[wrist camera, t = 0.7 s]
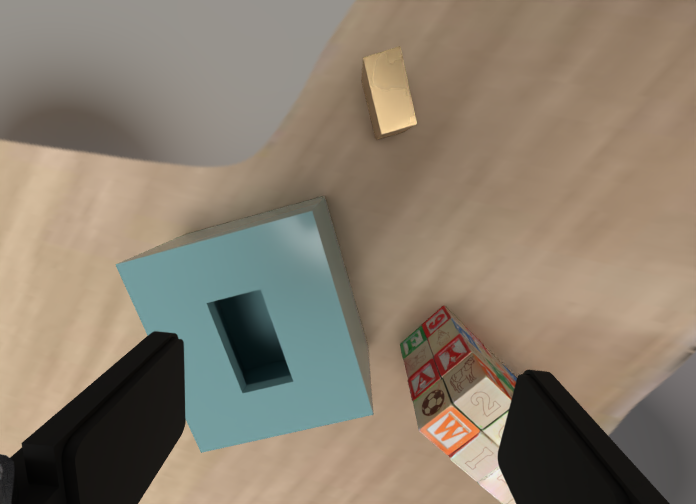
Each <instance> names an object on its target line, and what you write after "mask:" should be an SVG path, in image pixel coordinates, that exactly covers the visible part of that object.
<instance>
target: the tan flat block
mask: <svg viewBox="0 0 696 504" xmlns="http://www.w3.org/2000/svg"><path fill="white" fill-rule="evenodd" d="M361 81H362V85H363V89H364V93H365V98H366V102H367V106H368V110H369V114H370V118H371V122H372V126H373V130H374V134H375V139H376V140H378V139H381V138H385V137H388V136H392V135H395V134H399V133H402V132H405V131H406V130H408V129H410V128H411V127H413V126H415V125H416V124H417V122H416V117H415V113H414V108H413V103H412V99H411V94H410V89H409V85H408V80H407V75H406V71H405V66H404V61H403V57H402V52H401V47H400V46H399V47H396V48H393V49H389V50H386V51H383V52H380V53H376V54H373V55H370V56H367V57H364V58H363V68H362V80H361Z"/></svg>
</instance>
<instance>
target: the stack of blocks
mask: <svg viewBox="0 0 696 504" xmlns="http://www.w3.org/2000/svg"><path fill="white" fill-rule="evenodd" d="M400 347H401V352H402V357H403V360H404V362H405V367H406V373H407V376H408V385H409V388H410V394H411V398H412V401H413V404H414V409H415V414H416V419H417V424H418V429H419V431H420V432H421V433H422V434H423V435H424V436H426V437H427V438H428V439H429V440H430V441H431V442H433V443H434V444H435V445H436V446H437V447H438V448H439V449H441V450H442V451H443V452H444V453H445V454H446V455H449V458H450V460H451V461H452V462H454V463H455V464H456V465H457V466H458V467H460V468H461V469H462V470H463V471H464V472H465V473H467V474H468V475H469V476H470V477H472V478H473V479H474V480H475V481H477V482H478V484H479V485H480V486H481V487H483V488H484V489H485V490H486V491H487V492H489V493H490V494H491V495H492V496H493V497H495V498H496V499H497V500H498V501H499V502H501V503H502V504H516V503H515V500H514V498H513V496H512V494H511V492H510V490H509V487H508V485H507V483H506V481H505V479H504V477H503V474H502V472H501V470H500V468H499V465H498V450H499V446H500V442H501V438H502V434H503V430H504V427H505V423H506V419H507V415H508V411H509V407H510V403H511V400H512V396H513V392H514V388H515V384H516V380H517V378H516V377H515V376H514V375H513V374H512V373H511V372H510V371H509V370H508V369H507V368H506V367H505V366H504V365H503V364H501V363H500V361H499V360H498V359H496V358H495V357H494V356H493V355H492V354H491V353H490V352H489V351H488V350H487V349H486V348H485V347H484V346H483V344H482V343H481V342H480V341H479V340H478V339H477V338H476V337H475V336H474V335H473V334H472V333H471V332H470V331H469V330H468V329H467V328H466V327H465V326H464V325H463V323H462V322H461V321H460V320H459V319H458V318H457V317H456V316H455V315H454V314H453V313H452V312H451V311H450V310H449V309H448V308H447V307H446V306H442V307H441V308H440V309H439V310H438V311H437V312H436V313H434V314H433V315H432V316H431V317H430V318H429V319H428V320H427V321H425V322H424V323H423V324H422V326H420V327H419V328H418V329H417V330H416V331H415V332H413V333H412V334H411V335H410V336H409V337H408V338H407V339H405V340H404V341H403V342H402V343H401V344H400Z"/></svg>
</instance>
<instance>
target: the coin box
mask: <svg viewBox="0 0 696 504" xmlns="http://www.w3.org/2000/svg"><path fill="white" fill-rule="evenodd" d="M116 267H117V269H118V271H119V274H120V276H121V278H122V280H123V282H124V284H125V287H126V289H127V291H128V293H129V295H130V298H131V300H132V302H133V304H134V306H135V309H136V311H137V313H138V315H139V317H140V320H141V322H142V324H143V326H144V328H145V331H146V333H147V335H149V334H151V333H152V332H154V331H159V332H169V333H176V334H177V335H178V338H179V339H182V340H183V342H184V367H185V418H186V421H187V423H188V425H189V427H190V429H191V432H192V434H193V436H194V438H195V440H196V443H197V445H198V447H199V449H200V451H201V453H202V452H206V451H211V450H215V449H220V448H224V447H229V446H233V445H238V444H242V443H247V442H252V441H256V440H261V439H265V438H270V437H274V436H279V435H283V434H288V433H292V432H297V431H301V430H306V429H311V428H315V427H320V426H324V425H329V424H333V423H338V422H342V421H347V420H351V419H356V418H360V417H365V416H369V415H373V403H372V390H371V376H370V363H369V349H368V344H367V341H366V337H365V334H364V330H363V327H362V323H361V320H360V316H359V313H358V309H357V306H356V302H355V299H354V296H353V292H352V289H351V285H350V282H349V278H348V275H347V271H346V268H345V264H344V261H343V257H342V254H341V250H340V247H339V244H338V240H337V237H336V233H335V230H334V226H333V223H332V219H331V216H330V212H329V209H328V205H327V202H326V199H325V196H322V197H319V198H315V199H311V200H308V201H304V202H300V203H297V204H293V205H290V206H286V207H282V208H279V209H275V210H272V211H268V212H264V213H261V214H257V215H254V216H250V217H246V218H243V219H239V220H235V221H232V222H228V223H225V224H221V225H217V226H214V227H210V228H207V229H203V230H199V231H196V232H192V233H189V234H185V235H182V236H180V237H178V238H175V239H173V240H171V241H169V242H166V243H164V244H162V245H159V246H157V247H155V248H152V249H150V250H148V251H146V252H143V253H141V254H139V255H136V256H134V257H132V258H130V259H127V260H125V261H123V262H120V263H118V264H116Z"/></svg>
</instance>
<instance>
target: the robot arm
mask: <svg viewBox="0 0 696 504" xmlns="http://www.w3.org/2000/svg"><path fill="white" fill-rule="evenodd" d="M185 420H186V418H185V367H184V342H183V340H182V339H179V338H178V335H177V334H176V333H169V332H159V331H154V332H152V333H151V334H149V335H148V336H147V337H146V338H145V339H143V340H142V341H141V342H140V343H139V344H138V345H136V346H135V347H134V348H133V349H132V350H131V351H129V352H128V353H127V354H126V355H125V356H124V357H122V358H121V359H120V360H119V361H118V362H116V363H115V364H114V365H113V366H112V367H111V368H109V369H108V370H107V371H106V372H105V373H104V374H102V375H101V376H100V377H99V378H98V379H96V380H95V381H94V382H93V383H92V384H91V385H89V386H88V387H87V388H86V389H85V390H84V391H82V392H81V393H80V394H79V395H78V396H77V397H75V398H74V399H73V400H72V401H71V402H69V403H68V404H67V405H66V406H65V407H64V408H62V409H61V410H60V411H59V412H58V413H57V414H55V415H54V416H53V417H52V418H51V419H49V420H48V421H47V422H46V423H45V424H44V425H42V426H41V427H40V428H39V429H38V430H37V431H35V432H34V433H33V434H32V435H31V436H30V437H28V438H27V439H26V440H25V441H24V442H22V448H21V449H20V450H19V451H17V452H16V453H15V454H14V455H13V456H12V457H10V458H9V457H8V456H6V455H1V454H0V504H138V503H139V501H140V500H141V498H142V497H143V495H144V493H145V492H146V490H147V489H148V487H149V486H150V484H151V482H152V481H153V479H154V478H155V476H156V474H157V473H158V471H159V470H160V468H161V467H162V465H163V463H164V462H165V460H166V459H167V457H168V455H169V454H170V452H171V451H172V449H173V448H174V446H175V444H176V443H177V441H178V440H179V438H180V436H181V435H182V433H183V430H184V427H185ZM498 465H499V468H500V470H501V472H502V474H503V477H504V479H505V481H506V483H507V485H508V487H509V490H510V492H511V494H512V496H513V498H514V500H515V503H516V504H669V503H668V502H667V500H666V499H665V498H664V497H663V496H662V495H661V494H660V493H659V492H658V490H657V489H656V488H655V487H654V486H653V485H652V484H651V483H650V482H649V481H648V479H647V478H646V477H645V476H644V475H643V474H642V473H641V472H640V471H639V470H638V468H637V467H636V466H635V465H634V464H633V463H632V462H631V461H630V460H629V459H628V457H627V456H626V455H625V454H624V453H623V452H622V451H621V450H620V449H619V448H618V446H617V445H616V444H615V443H614V442H613V441H612V440H611V439H610V437H609V436H608V435H607V434H606V433H605V432H604V431H603V430H602V429H601V428H600V426H599V425H598V424H597V423H596V422H595V421H594V420H593V419H592V418H591V417H590V415H589V414H588V413H587V412H586V411H585V410H584V409H583V408H582V407H581V406H580V404H579V403H578V402H577V401H576V400H575V399H574V398H573V397H572V396H571V395H570V393H569V392H568V391H567V390H566V389H565V388H564V387H563V386H562V385H561V383H560V382H559V381H558V380H557V379H556V378H555V377H554V376H553V375H552V374H551V373H550V372H545V371H535V370H526V371H525V372H524V373H523V375H522V374H521V375H519V376H518V377H517V380H516V384H515V388H514V392H513V396H512V400H511V403H510V407H509V411H508V415H507V419H506V423H505V427H504V430H503V434H502V438H501V442H500V446H499V450H498Z"/></svg>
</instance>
